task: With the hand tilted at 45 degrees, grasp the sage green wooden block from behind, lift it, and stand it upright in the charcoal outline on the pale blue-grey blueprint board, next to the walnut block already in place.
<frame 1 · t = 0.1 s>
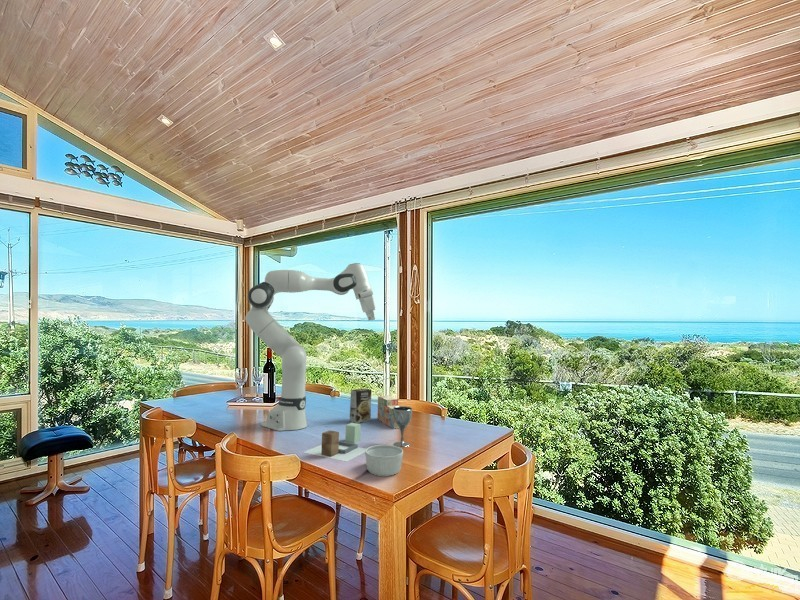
hand: (371, 320, 206), 52 cm above the table, tool tilted 20°, fingers open, 8 cm apart
colourful cardboard box: (390, 423, 206), on the table
ramekin: (383, 471, 140), on the table
sage block: (352, 443, 170), on the table
blueprint board: (336, 454, 156), on the table
coffee box: (360, 421, 208), on the table
walnut block: (329, 454, 152), resting on blueprint board
wine glass: (401, 444, 170), on the table
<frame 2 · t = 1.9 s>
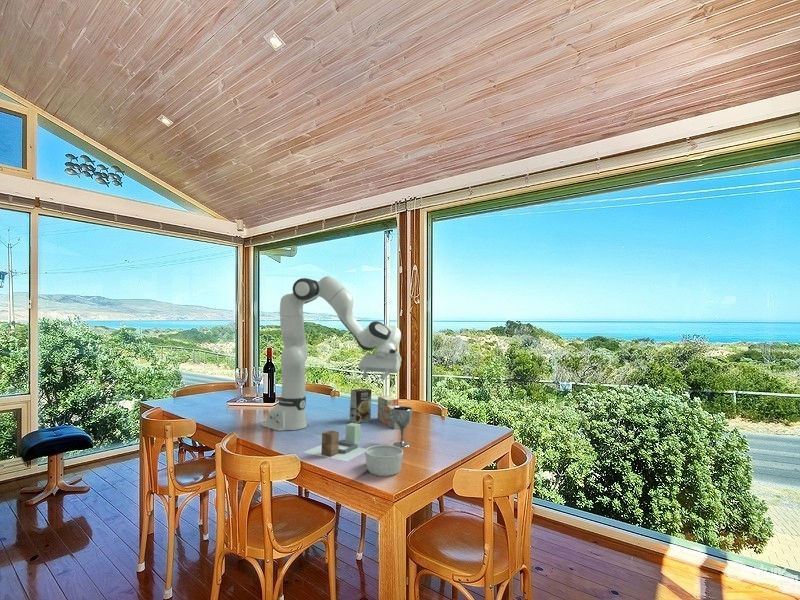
hand: (373, 377, 185), 26 cm above the table, tool tilted 45°, fingers open, 8 cm apart
nothing on the table moved.
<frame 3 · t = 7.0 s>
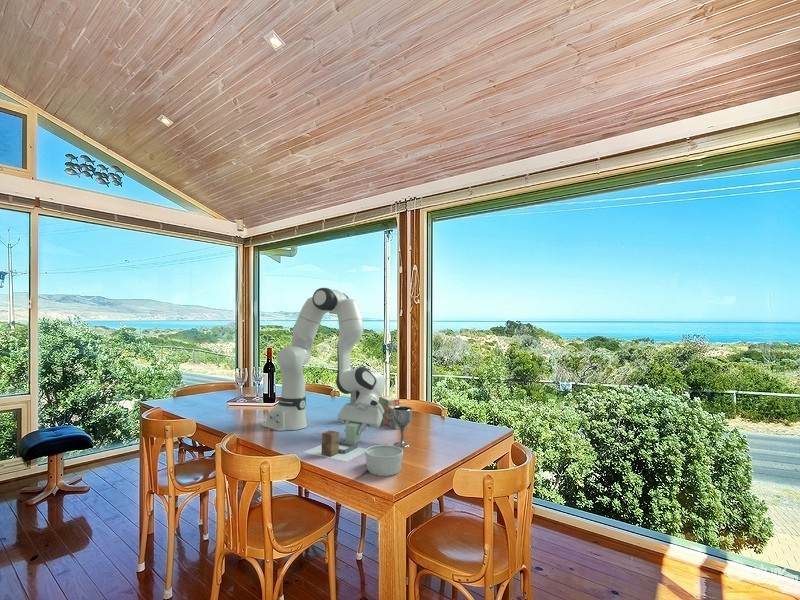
hand: (352, 433, 169), 5 cm above the table, tool tilted 45°, fingers closed on sage block, 4 cm apart
sage block: (352, 443, 170), on the table, touching gripper
when the fingers open (7 cm above the table, at t = 12.9 s): sage block drops 1 cm, resting on blueprint board.
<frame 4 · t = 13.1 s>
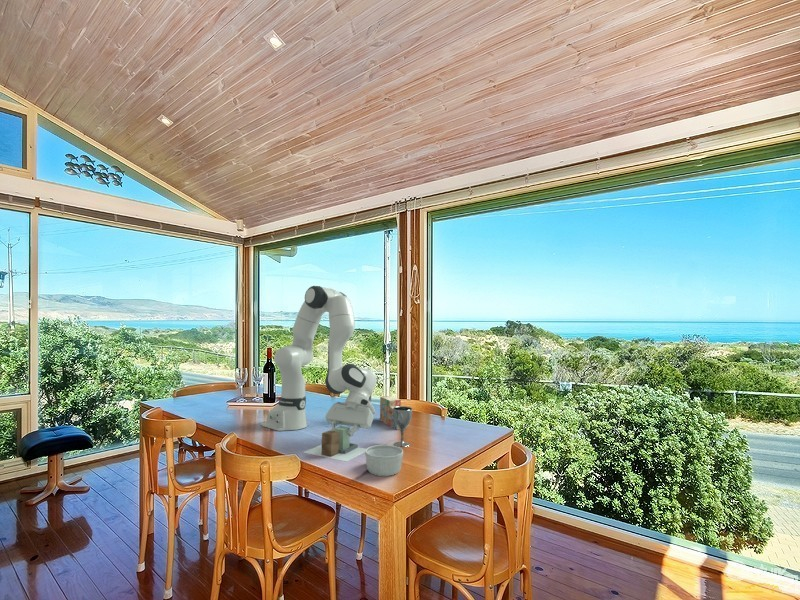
hand: (340, 433, 159), 7 cm above the table, tool tilted 45°, fingers open, 7 cm apart
sage block: (341, 448, 159), point 1 cm above the table, touching blueprint board
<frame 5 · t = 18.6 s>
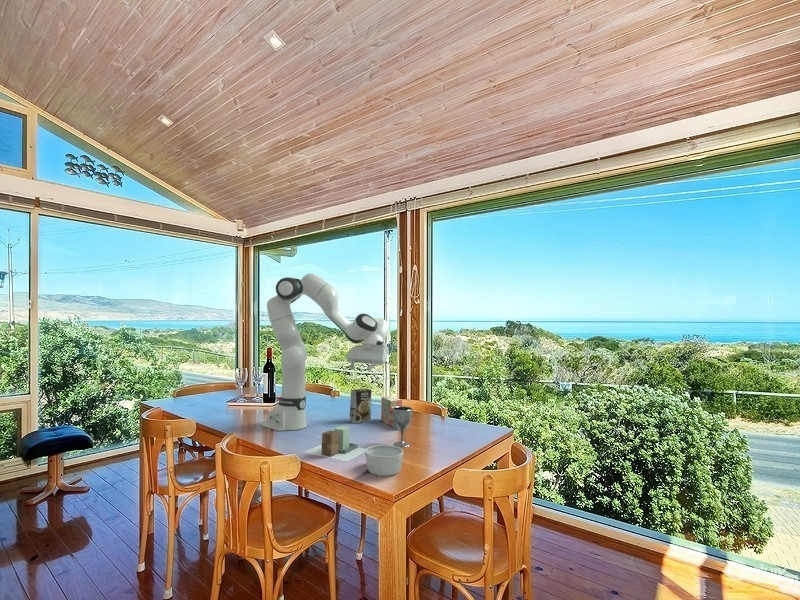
hand: (359, 369, 186), 29 cm above the table, tool tilted 45°, fingers open, 8 cm apart
at the end: sage block 0.1 cm from the target spot on the blueprint board, point 1.2 cm above the blueprint board's base; sage block tilted 0°; the gripper is holding nothing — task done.
